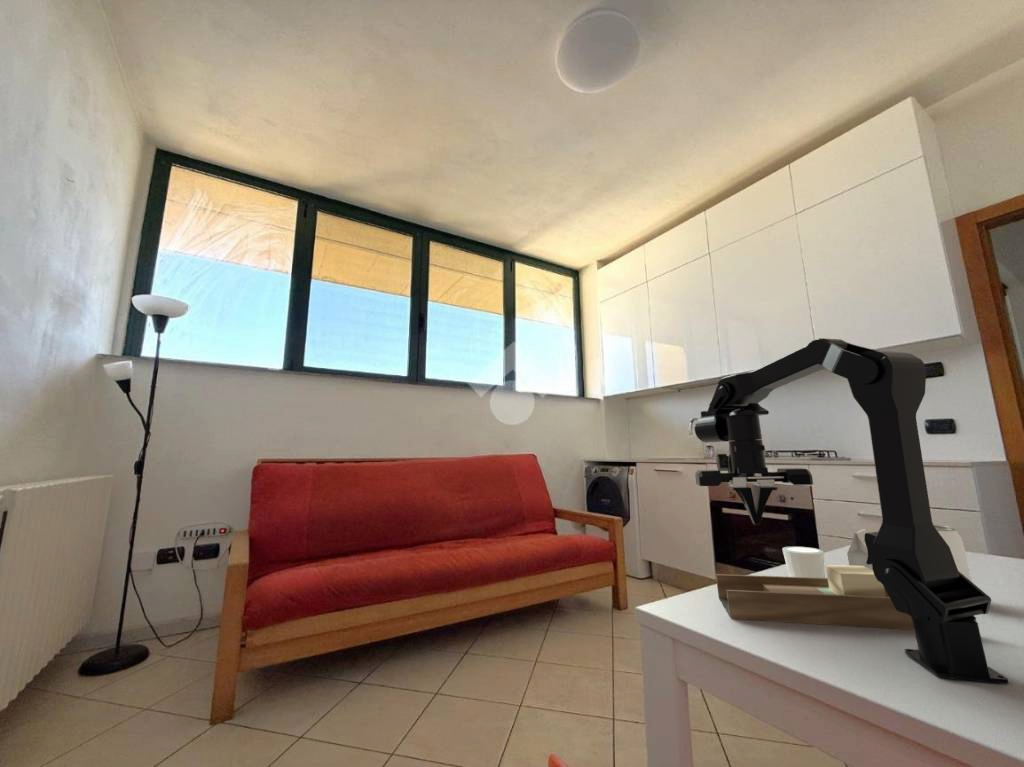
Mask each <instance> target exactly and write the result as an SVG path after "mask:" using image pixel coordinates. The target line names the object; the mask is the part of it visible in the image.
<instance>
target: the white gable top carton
mask: <svg viewBox="0 0 1024 767" xmlns="http://www.w3.org/2000/svg"><path fill="white" fill-rule="evenodd" d="M865 533H869V531H868V528H863V529H860V530H859V531H856V532H854V533H853V537H852V541H851V544H850V546H849V548H848V551H847V561H848V565H851V566H864V567H866V568H869V569H871V570H872V564H870V565H868V564H867V563H866V561H867V558H868V551H867V547H866V543H865V540H864V539H865Z"/></svg>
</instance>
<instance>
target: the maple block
mask: <svg viewBox="0 0 1024 767" xmlns="http://www.w3.org/2000/svg"><path fill="white" fill-rule="evenodd" d="M824 566H825V574H826V578H828V584H829V590H831V591H832V592H834V593H835V594H837V595H856V596H879V597H886V595H885V590H884V586H883V584H882V583H881V582H879V581H878V580H877V579H876V577H875V575H874V573H873V570H871V569H869V568H866V567H864V566H851V565H849V564H848V565H846V564H842V565H841V564H824Z"/></svg>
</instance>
